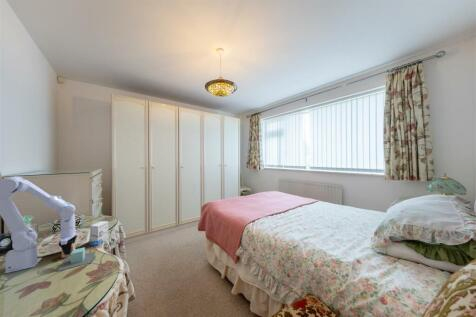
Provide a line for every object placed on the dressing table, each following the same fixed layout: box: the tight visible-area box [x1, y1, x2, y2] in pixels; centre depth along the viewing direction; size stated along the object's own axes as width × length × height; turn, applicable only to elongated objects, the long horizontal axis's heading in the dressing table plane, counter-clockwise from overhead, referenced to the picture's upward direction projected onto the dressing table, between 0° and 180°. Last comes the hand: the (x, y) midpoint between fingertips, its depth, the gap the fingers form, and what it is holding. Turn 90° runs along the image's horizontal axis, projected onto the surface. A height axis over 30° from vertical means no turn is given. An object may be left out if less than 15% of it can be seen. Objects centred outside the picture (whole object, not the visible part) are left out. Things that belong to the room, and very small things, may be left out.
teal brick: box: [70, 246, 86, 264], centre depth 90 cm, size 4×4×5 cm
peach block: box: [61, 242, 77, 259], centre depth 96 cm, size 4×4×5 cm
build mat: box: [57, 251, 96, 272], centre depth 90 cm, size 12×12×1 cm
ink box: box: [89, 220, 109, 246], centre depth 110 cm, size 9×5×12 cm, turn 179°
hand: (68, 252), depth 96 cm, fingers closed on peach block, 4 cm apart
